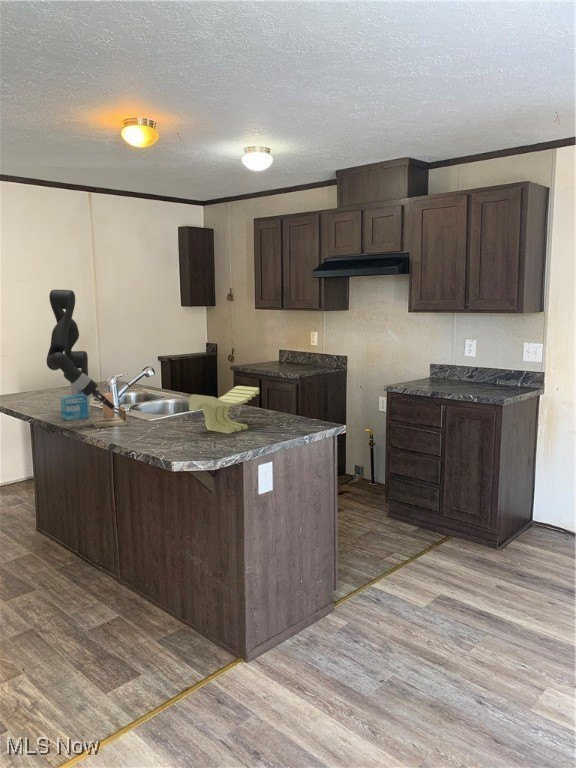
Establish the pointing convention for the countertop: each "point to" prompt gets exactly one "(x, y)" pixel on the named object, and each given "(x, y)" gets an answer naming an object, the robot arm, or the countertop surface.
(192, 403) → the slatted curved stool
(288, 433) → the countertop surface
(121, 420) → the wooden l-shaped stand
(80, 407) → the data package
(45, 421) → the countertop surface
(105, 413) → the peach dome-topped cylinder
